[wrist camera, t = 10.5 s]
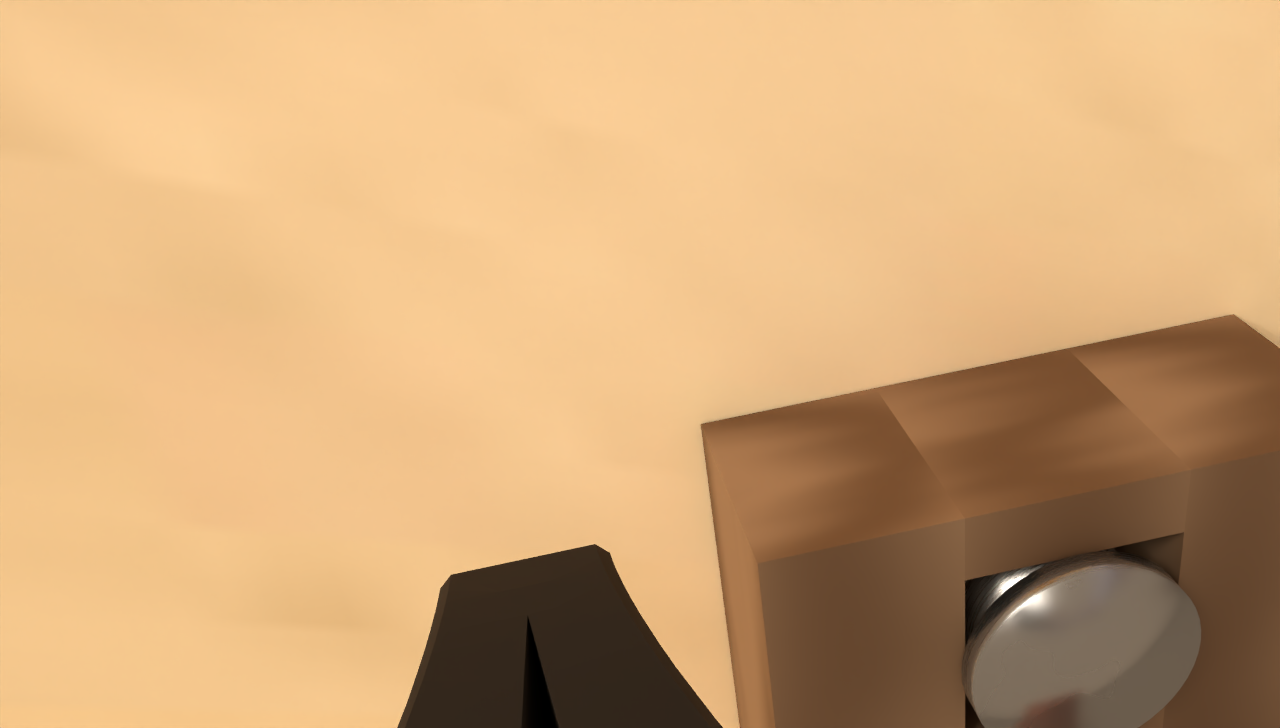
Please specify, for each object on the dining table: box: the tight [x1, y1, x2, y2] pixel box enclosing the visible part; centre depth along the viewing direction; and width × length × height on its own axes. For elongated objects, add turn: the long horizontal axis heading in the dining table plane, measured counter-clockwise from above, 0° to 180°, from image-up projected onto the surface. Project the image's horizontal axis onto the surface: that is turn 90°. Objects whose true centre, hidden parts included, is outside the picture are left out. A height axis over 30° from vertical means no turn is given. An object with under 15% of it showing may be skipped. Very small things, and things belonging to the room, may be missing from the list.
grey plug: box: [961, 548, 1201, 728], centre depth 21 cm, size 4×4×4 cm
